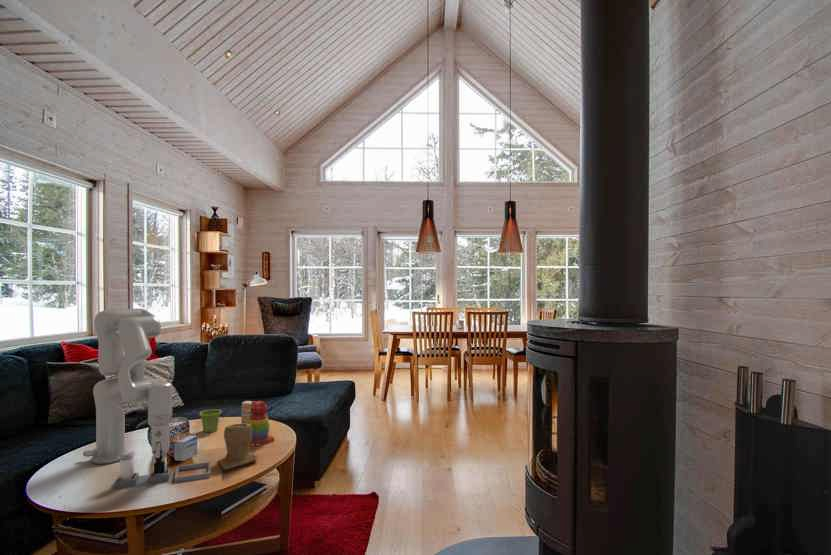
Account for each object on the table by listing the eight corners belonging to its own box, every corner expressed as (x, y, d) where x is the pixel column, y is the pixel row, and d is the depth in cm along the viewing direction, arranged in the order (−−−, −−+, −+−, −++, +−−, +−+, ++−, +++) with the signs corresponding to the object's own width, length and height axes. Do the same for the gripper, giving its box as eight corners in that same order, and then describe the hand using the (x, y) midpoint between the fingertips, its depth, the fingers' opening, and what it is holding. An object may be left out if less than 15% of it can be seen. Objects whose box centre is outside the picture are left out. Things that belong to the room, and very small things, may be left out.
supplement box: (240, 430, 223) (240, 402, 223) (246, 427, 227) (246, 400, 227) (257, 431, 221) (257, 403, 221) (262, 428, 226) (262, 401, 226)
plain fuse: (119, 486, 159) (119, 456, 159) (121, 481, 163) (121, 452, 163) (132, 484, 161) (132, 454, 161) (134, 479, 164) (134, 450, 164)
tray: (174, 486, 162) (174, 478, 162) (177, 474, 172) (177, 466, 172) (209, 481, 166) (209, 472, 166) (210, 469, 177) (210, 461, 177)
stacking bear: (276, 440, 210) (276, 399, 210) (260, 447, 201) (260, 405, 201) (257, 436, 214) (257, 397, 214) (240, 443, 205) (240, 402, 205)
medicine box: (184, 465, 181) (184, 442, 181) (174, 464, 182) (174, 441, 182) (197, 457, 189) (197, 435, 189) (187, 456, 190) (187, 435, 190)
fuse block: (110, 495, 156) (110, 484, 156) (116, 483, 165) (116, 473, 165) (171, 486, 162) (171, 476, 162) (174, 475, 172) (174, 465, 172)
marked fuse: (152, 481, 163) (152, 452, 163) (154, 477, 167) (154, 448, 167) (165, 479, 164) (166, 450, 164) (167, 475, 168) (167, 447, 168)
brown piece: (245, 454, 192) (245, 417, 192) (261, 462, 184) (262, 423, 184) (209, 466, 180) (209, 426, 180) (224, 474, 173) (225, 433, 173)
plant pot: (225, 430, 224) (225, 411, 224) (205, 435, 216) (205, 416, 216) (214, 426, 230) (214, 408, 230) (195, 431, 222) (195, 412, 222)
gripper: (169, 423, 159) (169, 478, 159) (174, 411, 175) (174, 460, 175) (144, 426, 156) (144, 482, 156) (151, 413, 172) (151, 463, 172)
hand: (160, 470), depth 165 cm, fingers closed on marked fuse, 4 cm apart
